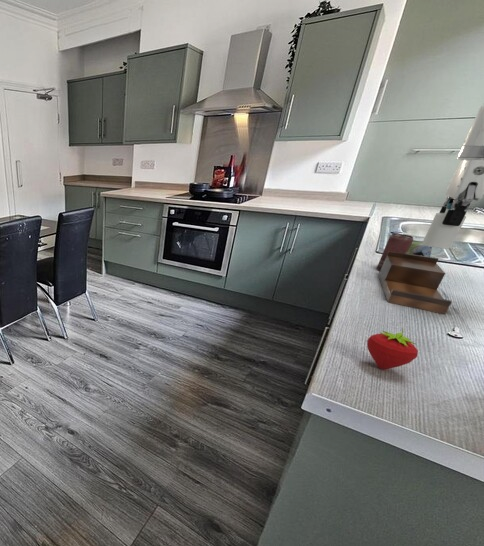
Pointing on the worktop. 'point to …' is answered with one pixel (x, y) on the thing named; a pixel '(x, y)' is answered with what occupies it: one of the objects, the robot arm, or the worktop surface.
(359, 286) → the worktop surface
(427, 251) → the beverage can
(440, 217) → the bottle
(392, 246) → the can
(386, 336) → the strawberry
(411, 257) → the rack
